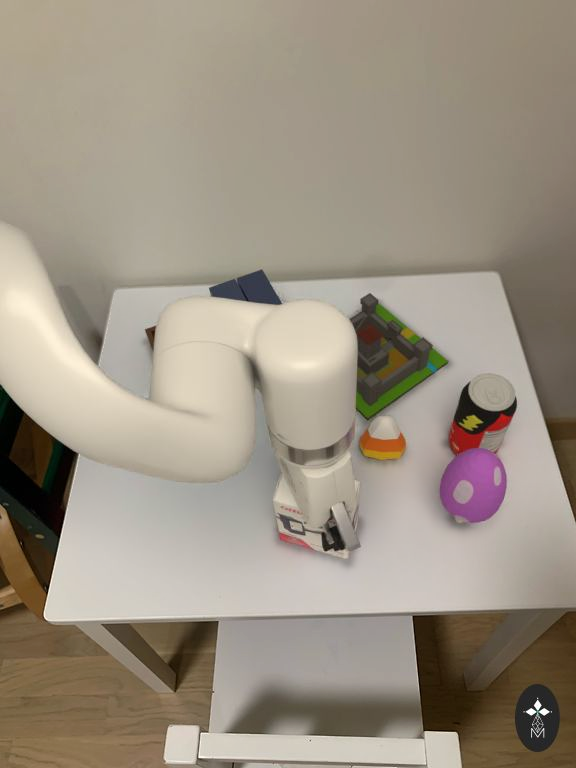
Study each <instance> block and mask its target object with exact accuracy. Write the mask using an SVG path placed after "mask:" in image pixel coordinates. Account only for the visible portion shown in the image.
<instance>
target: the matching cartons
mask: <svg viewBox="0 0 576 768" xmlns="http://www.w3.org/2000/svg"><path fill="white" fill-rule="evenodd" d="M208 291H209V294H210V297H219V298H227V299H233V300H240V301H247V302H254V303H263V304H273V305H281V304H283V302H282V301H281V299H280V297H279V296H278V294H277V292H276V290H275V289H274V287H273V285H272V284H271V281H270V280H269V279H268V277H267V275H266V273H265V271H264V270H263V269H259V270H255V271H253V272H250V273H247V274H244V275H241V276H239V277H236V278H233V279H232V278H231V279H230V280H226V281H224V282H221V283H217V284H216V285H212V286H210V287H208Z"/></svg>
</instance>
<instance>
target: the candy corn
mask: <svg viewBox="0 0 576 768" xmlns="http://www.w3.org/2000/svg"><path fill="white" fill-rule="evenodd" d="M358 446H359V448H360V450H361V453H362V454H363V455H364V457H368V458H371V459H375V460H379V461H385V460H386V461H387V460H394V459H396V460H397V459H400V458H401V457H402V456H403V454H404V452H405V451H406V449H407V441H406V437H405V436H404V434H403V433H402V430H401V428H400V426H399V424H398V422H397V420H396V419H395V418H394V417H393V416H390V415H386V414H384V415H377V417H375V418H373V420H372V421H371V422H370V424H369V425H368V426H367V428H366V430H365V431H364V433H363V434H362V435H361V438H360V440H359V443H358Z"/></svg>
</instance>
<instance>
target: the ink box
mask: <svg viewBox="0 0 576 768" xmlns="http://www.w3.org/2000/svg"><path fill="white" fill-rule="evenodd" d="M280 471H281V470H280ZM354 482H355V503H354V508H353V510H352V512H351V513H350V512H349V515H350V518H351V521H352V524H353V527H354V530H355V532H356V531H357V527H358V522H359V507H360V493H361V482H360V480H358V479H355V478H354ZM272 502H273V509H274V513H275V514H274V515H275V518H276V519H275V520H276V524H277V529H278V534H279V539H280V540H281V541H282V542H283V541H284V542H287V543H290V544H293V545H298V546H301V547H303V548H307V549H311V550H314V551H316V552H320V553H324V554H327V555H331V556H334V557H338V558H342V559H344V560H348V559H349V556H350V553H351V551H350V552H347V551H345V549H344V550H342V551H341V550H339V551H334V549H331V550H329V551H326V552H325V551H324V550H323V547H322V537H321V534H322V532H323V528H322V526H321V527H318V528H315V529H314V528H312V527H310V526H309V525H308V524H307V523H306V521H305V519H304V518H303V516H302V514H301V512H300V510H299V507H298V505H297V503H296V501H295V499H294V497H293V495H292V493H291V491H290V489H289V486H288V484H287V482H286V480H285V478H284V476H283V473H282V471H281V472H280V475H279V477H278V481H277V484H276V487H275V490H274V493H273V497H272ZM328 523H329V526H330V528H331V527H333V526H336V523H335V521H334V519H332V520H330V521H328Z"/></svg>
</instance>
